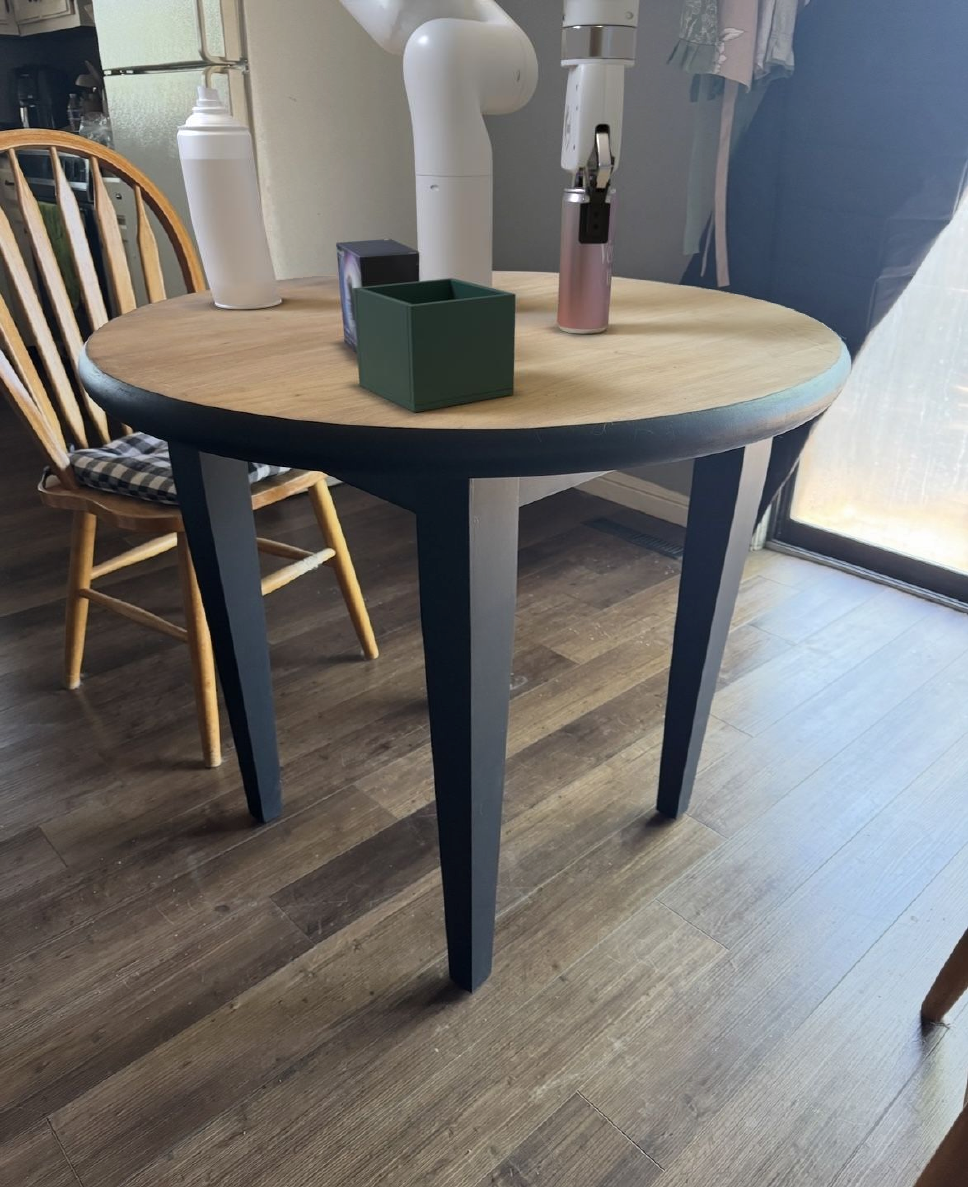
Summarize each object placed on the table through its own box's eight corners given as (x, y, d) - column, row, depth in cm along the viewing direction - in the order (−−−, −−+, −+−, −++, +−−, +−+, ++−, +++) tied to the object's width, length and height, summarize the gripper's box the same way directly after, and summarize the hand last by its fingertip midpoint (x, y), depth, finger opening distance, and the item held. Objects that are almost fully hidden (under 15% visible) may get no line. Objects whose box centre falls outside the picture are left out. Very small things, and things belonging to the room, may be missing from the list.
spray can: (291, 310, 112) (269, 84, 100) (205, 316, 108) (172, 83, 96) (276, 295, 121) (253, 87, 109) (196, 300, 118) (164, 86, 106)
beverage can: (575, 321, 106) (582, 185, 99) (617, 328, 103) (628, 188, 96) (546, 329, 102) (552, 188, 95) (589, 337, 99) (598, 191, 92)
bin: (359, 385, 80) (352, 287, 76) (453, 370, 85) (451, 277, 81) (414, 412, 73) (410, 306, 69) (513, 394, 78) (515, 294, 74)
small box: (340, 343, 96) (332, 240, 91) (397, 338, 98) (393, 238, 93) (363, 365, 87) (356, 253, 82) (425, 360, 89) (422, 250, 84)
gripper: (550, 55, 96) (544, 231, 105) (575, 43, 81) (565, 250, 90) (617, 56, 97) (605, 231, 106) (654, 44, 82) (637, 249, 90)
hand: (587, 238), depth 98 cm, fingers closed on beverage can, 6 cm apart
